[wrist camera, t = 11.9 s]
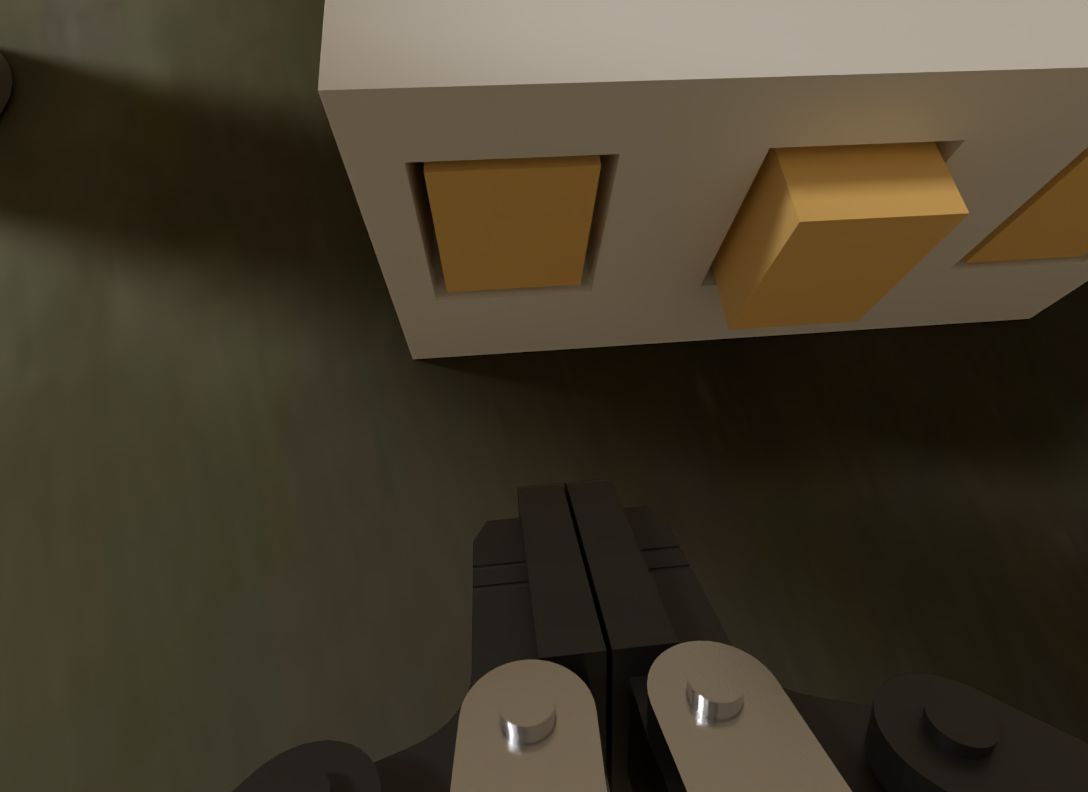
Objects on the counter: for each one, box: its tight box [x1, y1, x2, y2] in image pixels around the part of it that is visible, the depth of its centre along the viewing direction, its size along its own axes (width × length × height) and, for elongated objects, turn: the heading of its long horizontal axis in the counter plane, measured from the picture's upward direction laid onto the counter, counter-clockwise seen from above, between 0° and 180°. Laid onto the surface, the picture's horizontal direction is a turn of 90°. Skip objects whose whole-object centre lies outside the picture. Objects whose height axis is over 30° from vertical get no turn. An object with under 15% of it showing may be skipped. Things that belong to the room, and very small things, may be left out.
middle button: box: [712, 141, 969, 330], centre depth 17 cm, size 4×3×5 cm
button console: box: [318, 0, 1088, 359], centre depth 20 cm, size 26×11×12 cm, turn 96°
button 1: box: [424, 155, 601, 292], centre depth 17 cm, size 4×3×5 cm
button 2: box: [963, 147, 1088, 263], centre depth 19 cm, size 4×3×5 cm
